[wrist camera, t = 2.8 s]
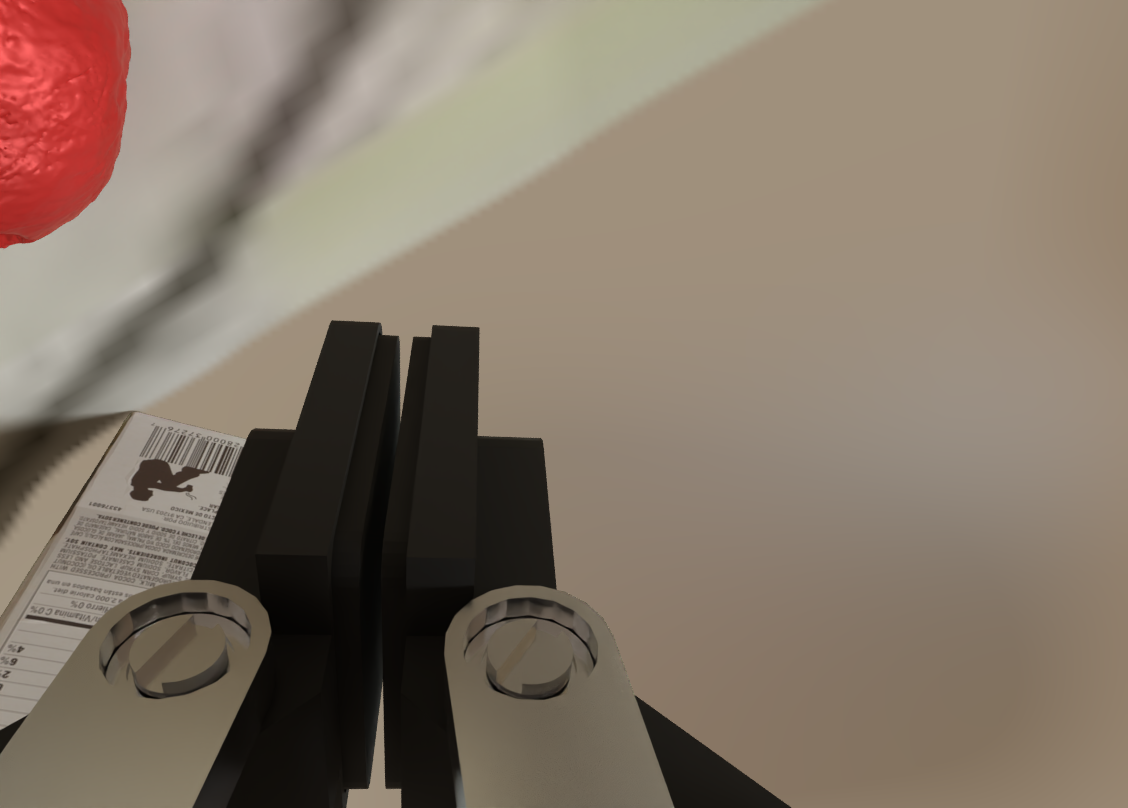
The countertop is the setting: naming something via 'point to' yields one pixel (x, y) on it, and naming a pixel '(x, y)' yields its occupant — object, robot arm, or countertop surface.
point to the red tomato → (58, 109)
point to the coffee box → (113, 546)
